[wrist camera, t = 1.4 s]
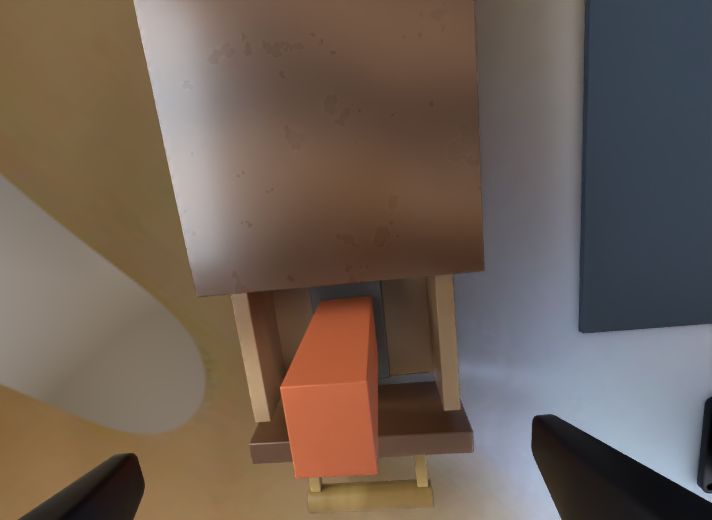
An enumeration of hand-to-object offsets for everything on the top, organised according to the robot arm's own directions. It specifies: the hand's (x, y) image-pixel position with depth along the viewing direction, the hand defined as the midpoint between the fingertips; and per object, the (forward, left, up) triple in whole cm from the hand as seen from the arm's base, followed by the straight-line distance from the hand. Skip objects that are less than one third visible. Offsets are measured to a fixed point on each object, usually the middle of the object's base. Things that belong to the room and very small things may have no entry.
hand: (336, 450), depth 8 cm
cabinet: (+9, +1, -14) cm, 16 cm away
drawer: (-3, +1, -13) cm, 13 cm away
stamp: (-1, +1, -12) cm, 12 cm away
